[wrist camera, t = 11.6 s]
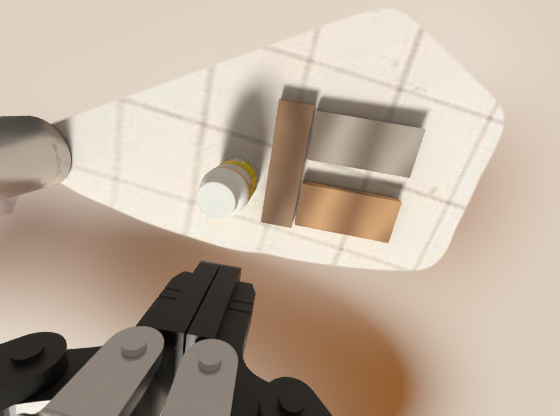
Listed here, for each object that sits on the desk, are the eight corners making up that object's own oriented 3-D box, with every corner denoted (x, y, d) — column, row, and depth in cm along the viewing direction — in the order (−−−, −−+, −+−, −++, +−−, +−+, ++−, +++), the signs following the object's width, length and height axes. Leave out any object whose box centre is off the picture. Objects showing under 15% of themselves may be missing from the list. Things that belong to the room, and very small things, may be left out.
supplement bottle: (238, 148, 35) (214, 162, 26) (267, 180, 36) (254, 203, 27) (209, 176, 37) (178, 198, 28) (238, 206, 38) (216, 236, 29)
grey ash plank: (307, 157, 35) (307, 159, 33) (316, 110, 33) (316, 110, 31) (405, 175, 34) (409, 177, 33) (420, 128, 32) (425, 129, 31)
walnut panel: (262, 217, 38) (261, 222, 36) (280, 99, 33) (279, 99, 31) (292, 223, 38) (291, 227, 36) (314, 105, 33) (314, 105, 31)
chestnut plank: (295, 220, 38) (294, 224, 36) (302, 180, 36) (302, 183, 34) (385, 237, 37) (388, 242, 35) (398, 198, 35) (401, 202, 34)
